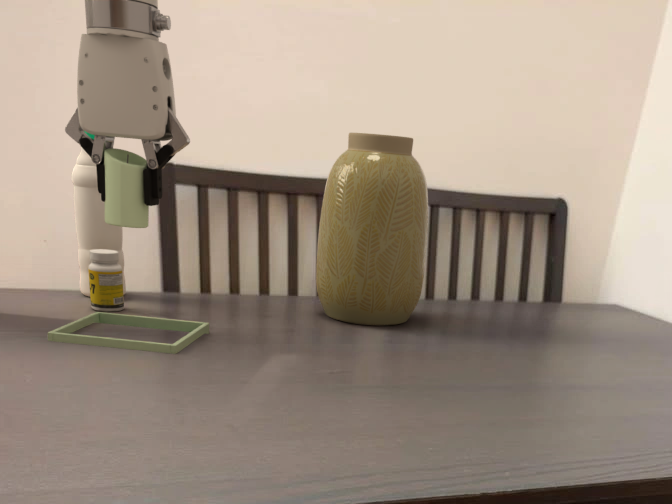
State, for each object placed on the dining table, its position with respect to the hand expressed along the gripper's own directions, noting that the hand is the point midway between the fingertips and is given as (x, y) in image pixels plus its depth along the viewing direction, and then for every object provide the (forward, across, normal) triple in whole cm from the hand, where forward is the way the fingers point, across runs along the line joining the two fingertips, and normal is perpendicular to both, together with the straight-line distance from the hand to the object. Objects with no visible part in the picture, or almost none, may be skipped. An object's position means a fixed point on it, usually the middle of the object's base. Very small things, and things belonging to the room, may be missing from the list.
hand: (130, 201), depth 86 cm
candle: (+3, +1, 0) cm, 3 cm away
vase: (+17, -27, -30) cm, 44 cm away
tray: (+17, -1, +3) cm, 17 cm away
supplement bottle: (+17, +11, -17) cm, 27 cm away
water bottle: (+17, +16, -27) cm, 36 cm away
